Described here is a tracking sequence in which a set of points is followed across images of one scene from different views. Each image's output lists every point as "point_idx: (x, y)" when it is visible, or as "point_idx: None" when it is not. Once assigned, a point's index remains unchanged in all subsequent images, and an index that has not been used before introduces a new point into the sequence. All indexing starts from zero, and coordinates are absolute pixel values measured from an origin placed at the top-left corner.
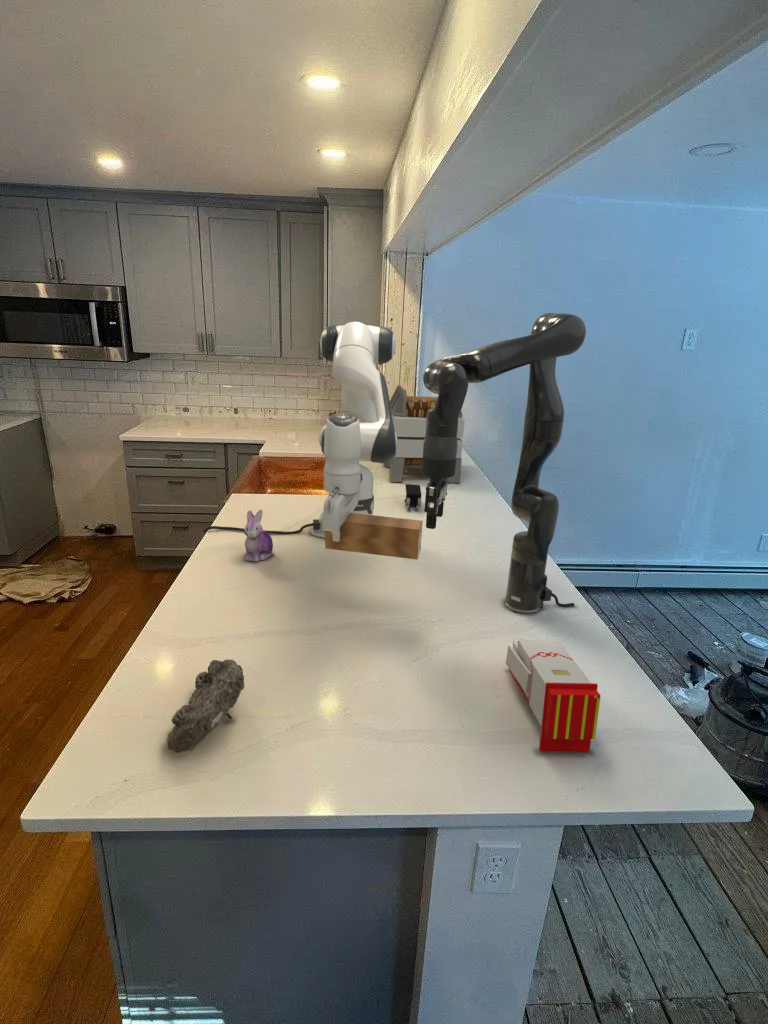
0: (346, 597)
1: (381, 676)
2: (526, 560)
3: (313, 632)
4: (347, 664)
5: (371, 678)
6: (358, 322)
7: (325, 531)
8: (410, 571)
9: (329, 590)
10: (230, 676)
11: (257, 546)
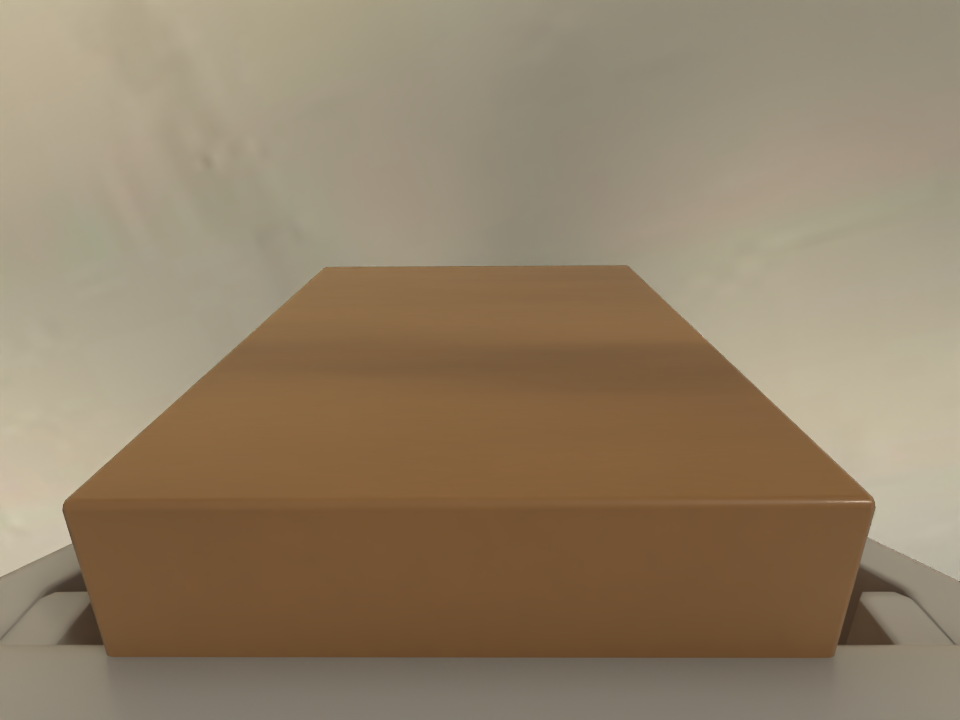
0: (605, 251)
1: (45, 531)
2: None
3: (207, 188)
4: (48, 405)
5: (15, 503)
6: None
7: (235, 353)
8: (944, 492)
9: (669, 130)
10: None
11: None
